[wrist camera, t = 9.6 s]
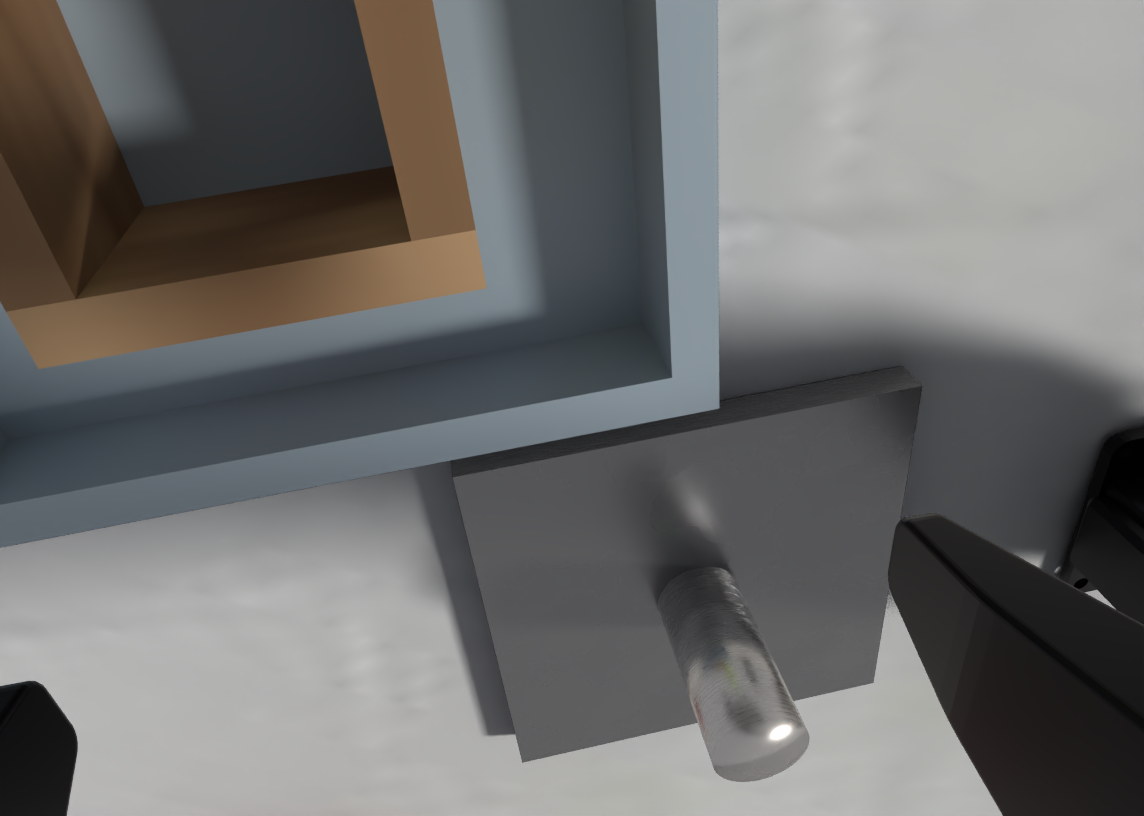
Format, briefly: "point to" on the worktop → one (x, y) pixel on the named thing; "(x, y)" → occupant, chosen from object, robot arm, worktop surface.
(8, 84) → the open wooden box frame
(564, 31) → the light blue frame
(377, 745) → the worktop surface
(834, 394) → the stake base
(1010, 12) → the worktop surface
